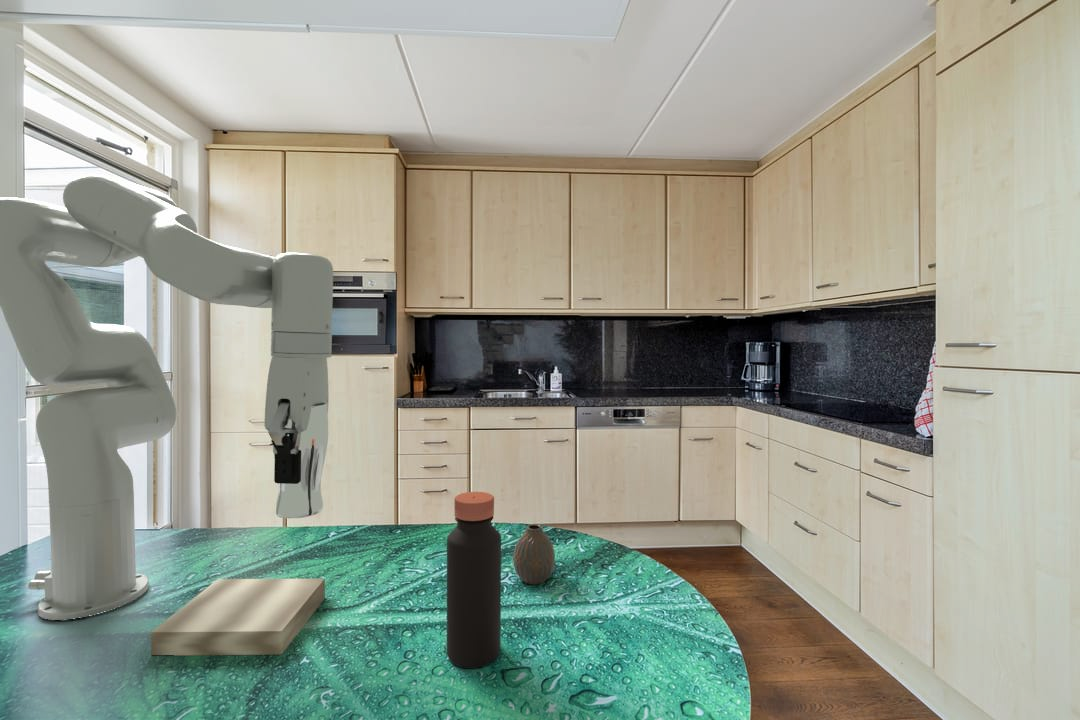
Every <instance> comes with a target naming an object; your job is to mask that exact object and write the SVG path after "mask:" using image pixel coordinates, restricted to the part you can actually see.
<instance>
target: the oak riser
mask: <svg viewBox="0 0 1080 720" xmlns="http://www.w3.org/2000/svg"><path fill="white" fill-rule="evenodd" d="M325 583H326V578H217V579H216V580H214V582H212V583H211V584H210V585H208V586H207V587H206V588H205V589H203V590H202V591H201V592H199V593H198V594H197V595H196V596H195V597H193V598H192V599H191V600H189V601H188V602H187V603H185V604H184V605H183V606H182V607H181V608H178V610H177V611H175V612H174V613H173V614H172V615H171V616H169V617H168V618H167V619H165V620H164V621H163V622H162V623H160V624H159V625H157V626H156V627H155V628H154V629H153V630H152V631H150V655H174V656H255V655H257V656H258V655H259V656H260V655H264V656H266V655H267V656H268V655H270V656H272V655H273V656H275V655H276V656H277V655H279V656H280V655H281V656H282V655H283V654H284V652H285V651H286V650H287V649H288V647H289V646H290V644H291V643H292V641H293V640H294V639H295V638H296V637H297V635H298V634H299V632H301V630H302V629H303V627H304V626H305V625H306V623H307V622H308V621H309V619H310V618H311V617H312V615H313V614H314V613H315V612H316V611H317V609H318V608H319V606H320V605H321V604H322V602H323V601H324V600H325V598H326V587H325V586H326V584H325Z"/></svg>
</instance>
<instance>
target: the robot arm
mask: <svg viewBox="0 0 1080 720" xmlns="http://www.w3.org/2000/svg"><path fill="white" fill-rule="evenodd" d="M62 201H63V205H64V206H61V205H57V204H53V203H48V202H44V201H40V200H34V199H28V198H19V197H11V196H9V197H0V309H1V310H2V313H3V316H4V319H5V321H6V324H7V326H8V328H9V331H10V334H11V336H12V338H13V341H14V342H15V345H16V348H17V350H18V353H19V355H20V357H21V359H22V361H23V364H24V366H25V367H26V369H27V372H28V373H29V375H30V376H31V377H32V378H33V379H34V380H35V381H36V382H37V383H39V384H42V385H45V386H50V387H71V386H73V387H74V386H83V385H98V384H106V385H107V386H106V387H99V388H89V389H79V390H74V391H69V392H66V393H62V394H60V395H57V396H55V397H54V398H51V399H50V400H48V401H47V402H46V403H45V404H44V405H43V406H42V407H41V408H40V409H39V411H38V413H37V417H36V420H35V427H36V429H35V430H36V434H37V439H38V441H39V445H40V447H41V451H42V455H43V458H44V462H45V468H46V475H47V487H48V488H47V489H48V506H49V509H48V510H49V532H50V533H49V537H50V540H49V541H50V561H51V562H50V563H51V564H50V565H51V566H50V567H51V569H41V570H39V571H37V572H36V574H35V575H34V579H32V580H31V581H30V582H29V583H28V585H27V588H28V589H29V590H30V591H31V590H32V591H33V590H35V591H36V590H37V591H39V590H44V597H43V598H42V599H41V600H40V601H39V603H38V604H37V615H38V616H39V617H40V618H41V619H44V620H47V619H48V620H49V621H54V620H61V621H67V620H66V619H73V618H79V617H86V616H89V615H94V614H97V613H101V612H104V611H108V610H111V609H114V608H117V607H119V606H121V607H123V606H122V605H124V606H126V605H128V604H130V603H132V602H133V600H134V601H135V600H137V599H138V597H139V598H140V597H142V596H143V594H145V593H146V592H147V591H148V590H149V586H150V582H149V577H147V575H144V574H142V573H138V572H137V570H136V569H137V565H136V561H137V560H136V531H135V530H136V526H135V492H134V479H133V475H132V472H131V469H130V467H129V466H128V464H127V463H126V462H125V460H124V459H123V458H122V456H120V454H119V451H118V450H119V449H123V448H126V447H132V446H135V445H140V444H145V443H149V442H153V441H156V440H159V439H161V438H163V437H165V436H166V435H167V434H169V433H170V432H171V431H172V429H173V428H174V426H175V423H176V420H177V408H176V403H175V399H174V397H173V395H172V391H171V389H170V387H169V385H168V382H167V380H166V378H165V375H164V373H163V370H162V369H161V366H160V363H159V361H158V359H157V357H156V353H155V352H154V349H153V348H152V346H151V344H150V342H149V341H148V339H147V338H145V337H144V336H143V335H142V333H140V332H139V331H137V330H136V329H135V328H133V327H130V326H128V325H123V324H118V323H117V324H116V323H95V322H93V321H91V320H90V319H89V318H88V317H87V316H86V313H85V312H84V310H83V308H82V306H81V303H80V299H79V298H78V296H77V294H76V293H75V291H74V290H73V288H72V287H71V286H70V285H69V284H68V282H66V280H64V279H63V278H62V277H61V276H60V275H59V274H57V273H56V272H54V270H52V269H51V268H50V267H49V266H48V265H47V264H46V262H52V263H53V262H54V263H59V264H67V265H75V266H80V267H81V266H82V267H89V268H90V267H91V268H109V267H114V266H117V265H120V264H123V263H125V262H127V261H130V260H132V259H135V258H138V257H140V258H142V259H143V261H144V262H145V263H144V264H146V266H147V268H148V269H149V271H150V272H151V273H152V274H153V275H154V276H155V277H156V278H158V279H159V280H161V281H163V282H164V283H165V284H168V285H169V286H172V287H174V288H176V289H178V290H180V291H182V292H183V293H186V294H187V295H190V296H192V297H194V298H196V299H198V300H201V301H203V302H206V303H211V304H216V305H226V306H238V307H239V306H240V307H248V308H258V309H271V324H270V325H271V328H270V329H271V332H270V357H271V359H270V363H269V368H268V375H267V382H266V392H265V406H264V407H265V408H264V428H265V430H266V431H267V432H268V435H269V436H270V437H269V438H271V440H270V441H271V444H272V452H273V455H274V454H275V458H274V468H273V470H274V472H273V473H274V475H273V477H274V478H273V479H274V480H273V481H274V483H275V484H278V483H282V484H298V483H299V482H300V481H301V453H298V450H299V445H300V440H301V432H303V431H305V430H306V429H307V426H308V422H309V418H310V413H311V407H312V406H319V405H324V402H326V403H327V413H329V372H328V371H329V369H328V358H329V359H330V358H332V348H333V347H332V343H333V341H332V339H333V333H332V332H333V299H334V298H333V297H334V296H333V295H334V293H333V292H334V268H333V264H332V262H331V261H330V260H329V259H328V258H326V257H325V256H321V255H318V254H313V253H312V254H311V253H303V252H284V253H280V254H277V255H276V256H273V255H268V254H264V253H263V254H262V253H258V252H255V251H251V250H247V249H243V248H240V247H234V246H229V245H224V244H222V243H219V242H216V241H214V240H212V239H209V238H208V237H205V236H203V235H201V234H199V233H198V228H197V224H196V222H195V220H194V219H193V218H192V217H191V216H190V214H189V213H187V212H186V211H184V210H183V209H180V207H179V206H178V205H177V204H176V202H175V201H174V200H173V199H172V198H170V196H168V195H166V194H165V193H163V192H161V191H159V190H156V189H153V188H149V187H146V186H143V185H140V184H137V183H134V182H131V181H127V180H124V179H122V178H118V177H115V176H111V175H106V174H97V173H91V174H83V175H80V176H78V177H75V178H74V179H72V180H70V182H68V183H67V184H66V185H65V188H64V189H63V193H62ZM289 419H291V420H293V422H294V423H296V427H294V428H295V429H284V428H285V425H286V423H287V421H288V420H289ZM285 434H289V435H294V436H293V440H292V442H291V440H290V438H289V436H285ZM273 446H274V447H273ZM131 601H132V602H131ZM129 602H130V603H129ZM127 603H128V604H127ZM125 604H126V605H125ZM119 608H120V607H119ZM117 609H118V608H117ZM114 610H115V609H114ZM111 611H112V610H111ZM108 612H109V611H108ZM94 616H95V615H94ZM86 618H87V617H86ZM64 619H65V620H64ZM48 620H47V621H48Z"/></svg>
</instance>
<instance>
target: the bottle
mask: <svg viewBox="0 0 1080 720" xmlns="http://www.w3.org/2000/svg"><path fill="white" fill-rule="evenodd" d="M494 515H495V497H494V495H493V494H491V493H489V492H485V491H467V492H464V493H463V492H462V493H460V494H457V495H456V496H455V497H454V520H455V522H456V526H455V527H454V528H453V529H452V531H451V532H449V534H448V535H447V538H446V656H447V658H448V661H450V663H452V664H454V665H455V666H457V667H460V668H463V669H464V668H466V669H478V668H482V667H485V666H487V665H489V664H491V663H494V661H496V659H497V658H498V657H499V655H500V652H501V640H502V639H501V638H502V637H501V635H502V634H501V633H502V632H501V627H502V625H501V623H502V622H501V621H502V620H501V618H502V617H501V616H502V614H501V611H502V610H501V609H502V606H501V605H502V604H501V603H502V583H501V582H502V534H501V533H500V532H499V531H498V529H496V528H495V527H494V525H492V521H493V519H494Z"/></svg>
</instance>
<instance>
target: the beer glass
mask: <svg viewBox="0 0 1080 720" xmlns="http://www.w3.org/2000/svg"><path fill="white" fill-rule="evenodd" d="M328 413H329V412H328ZM328 413H327V403H326V402H324V405H319V406H312V407H311V413H310V418H309V422H308V426H307V429H306V430H305V431H303V432H301V440H300V445H299V450H298V453H301V481H300V482H299V483H298V484H282V483H277V484H278V493H277V499H276V503H275V506H274V507H275V508H274V514H275V516H277V517H279V518H282V519H303V518H308V517H312V516H315V515H318V514H320V513H321V512H322V511H323V509H324V504H323V503H324V502H323V496H322V492H321V491H322V488H321V484H322V482H321V481H322V475H323V469H324V465H325V462H326V461H325V460H326V455H327V450H328V442H329V415H328ZM294 427H296V423H294V422H293V420H291V419H289V420H288V421H287V423H286V425H285V428H284V429H295V428H294ZM285 436H289V438H290V440H291V442H292V440H293V436H294V435H289V434H285ZM273 447H274V446H273V445H272V448H273ZM273 456H274V457H273V458H274V459H275V454H274V453H273Z"/></svg>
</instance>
